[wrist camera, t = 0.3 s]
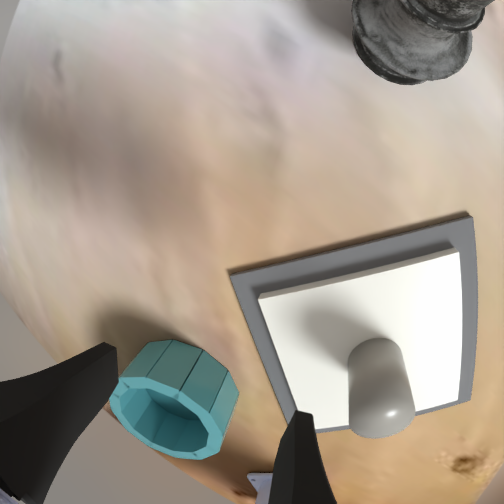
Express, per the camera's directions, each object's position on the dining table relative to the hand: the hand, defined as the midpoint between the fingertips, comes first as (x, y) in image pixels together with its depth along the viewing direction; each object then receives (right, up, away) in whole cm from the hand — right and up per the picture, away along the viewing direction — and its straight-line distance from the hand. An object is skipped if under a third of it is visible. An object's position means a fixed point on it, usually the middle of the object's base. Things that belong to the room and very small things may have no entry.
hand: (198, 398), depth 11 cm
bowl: (-4, -5, +13) cm, 15 cm away
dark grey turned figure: (+10, +17, +2) cm, 20 cm away
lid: (+10, -1, +8) cm, 13 cm away
